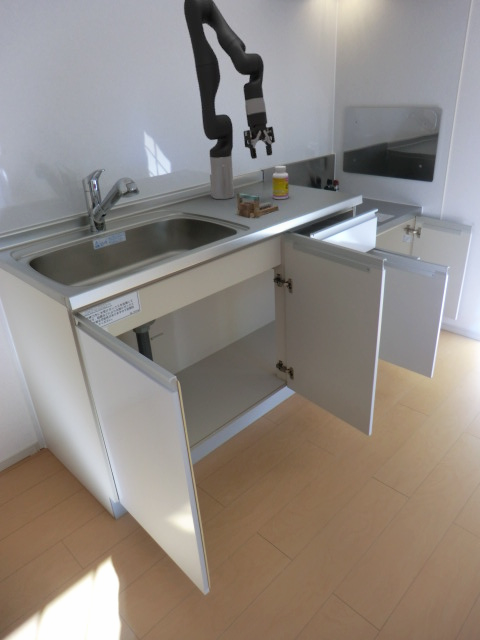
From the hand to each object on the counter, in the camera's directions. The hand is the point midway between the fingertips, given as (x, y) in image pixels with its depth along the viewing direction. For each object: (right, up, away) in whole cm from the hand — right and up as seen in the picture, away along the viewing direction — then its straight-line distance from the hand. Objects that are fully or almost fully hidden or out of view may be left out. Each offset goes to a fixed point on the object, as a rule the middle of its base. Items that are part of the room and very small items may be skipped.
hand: (261, 156), depth 188 cm
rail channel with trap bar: (-2, -22, -3) cm, 23 cm away
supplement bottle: (+9, -12, +16) cm, 22 cm away
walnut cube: (-5, -24, -6) cm, 26 cm away
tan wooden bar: (0, -22, -2) cm, 22 cm away
